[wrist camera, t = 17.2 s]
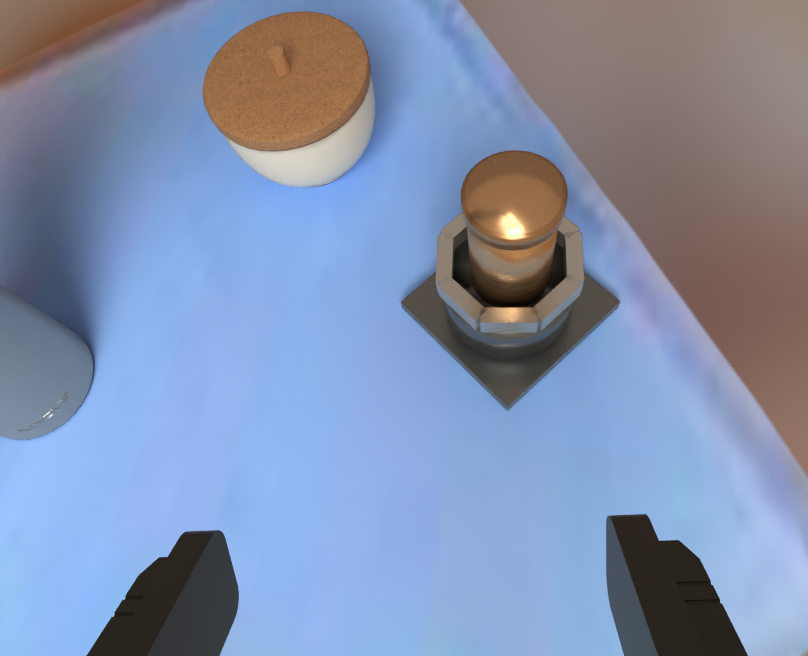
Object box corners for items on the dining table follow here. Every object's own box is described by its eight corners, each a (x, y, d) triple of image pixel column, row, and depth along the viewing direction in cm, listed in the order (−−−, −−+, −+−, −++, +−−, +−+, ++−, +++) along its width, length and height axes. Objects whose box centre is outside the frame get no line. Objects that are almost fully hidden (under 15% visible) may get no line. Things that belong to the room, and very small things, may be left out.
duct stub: (402, 308, 48) (386, 258, 41) (507, 217, 49) (508, 155, 43) (507, 410, 43) (508, 374, 36) (618, 307, 45) (638, 255, 38)
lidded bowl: (248, 108, 58) (195, 4, 48) (384, 86, 57) (359, -26, 47) (243, 224, 53) (183, 134, 43) (393, 203, 51) (367, 105, 41)
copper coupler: (450, 274, 41) (439, 193, 33) (509, 223, 42) (513, 132, 34) (509, 328, 39) (513, 257, 31) (570, 274, 40) (590, 190, 32)
